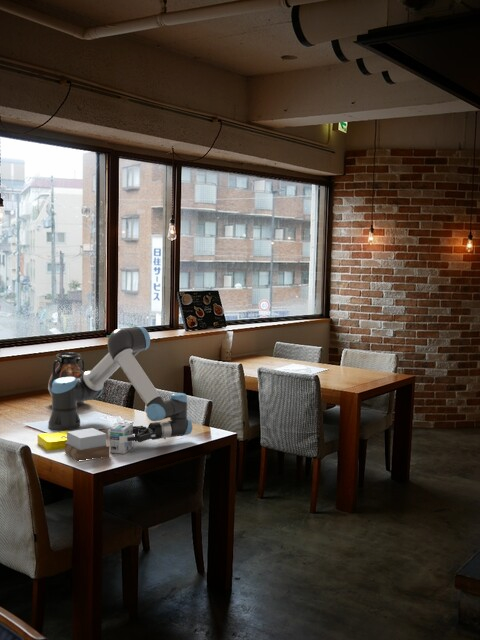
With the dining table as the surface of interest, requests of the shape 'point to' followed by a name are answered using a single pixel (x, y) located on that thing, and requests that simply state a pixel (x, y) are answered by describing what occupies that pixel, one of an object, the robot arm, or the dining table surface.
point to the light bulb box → (116, 432)
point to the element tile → (53, 440)
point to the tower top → (86, 438)
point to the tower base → (86, 452)
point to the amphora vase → (66, 368)
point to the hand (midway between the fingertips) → (113, 436)
